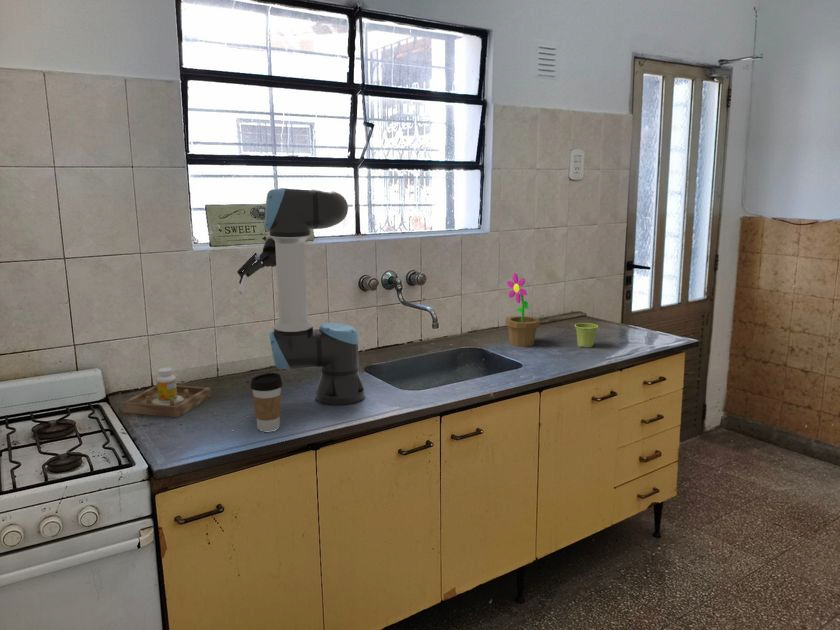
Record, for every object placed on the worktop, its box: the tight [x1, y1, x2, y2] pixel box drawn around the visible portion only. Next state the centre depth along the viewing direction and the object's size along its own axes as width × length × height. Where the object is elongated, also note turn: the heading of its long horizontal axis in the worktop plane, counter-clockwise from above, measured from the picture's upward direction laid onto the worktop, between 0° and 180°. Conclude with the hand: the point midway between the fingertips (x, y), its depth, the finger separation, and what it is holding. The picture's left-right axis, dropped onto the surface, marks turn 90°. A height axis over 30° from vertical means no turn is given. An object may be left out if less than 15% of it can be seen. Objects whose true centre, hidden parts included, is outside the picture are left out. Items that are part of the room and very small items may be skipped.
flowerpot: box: [504, 272, 541, 348], centre depth 266 cm, size 14×14×30 cm
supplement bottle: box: [156, 367, 177, 403], centre depth 195 cm, size 5×5×10 cm
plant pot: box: [574, 322, 599, 349], centre depth 265 cm, size 9×9×9 cm
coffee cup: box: [250, 372, 283, 431], centre depth 177 cm, size 8×8×15 cm
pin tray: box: [121, 384, 211, 418], centre depth 196 cm, size 18×18×4 cm
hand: (259, 293), depth 216 cm, fingers open, 13 cm apart
